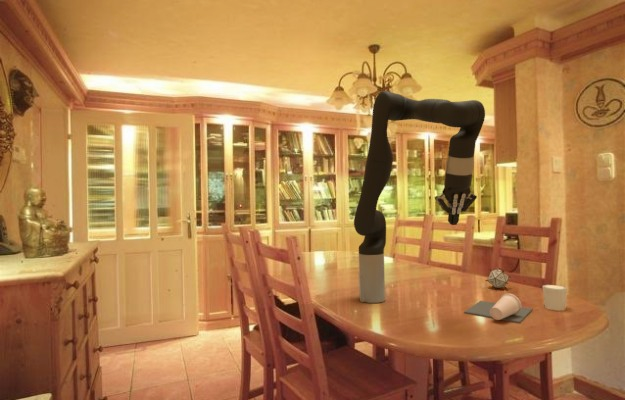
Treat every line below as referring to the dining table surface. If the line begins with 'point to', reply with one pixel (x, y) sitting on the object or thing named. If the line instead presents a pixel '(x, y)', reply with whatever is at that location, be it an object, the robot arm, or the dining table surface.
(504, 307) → the smoothie
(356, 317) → the dining table surface
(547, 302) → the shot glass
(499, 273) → the game die
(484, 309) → the mat
